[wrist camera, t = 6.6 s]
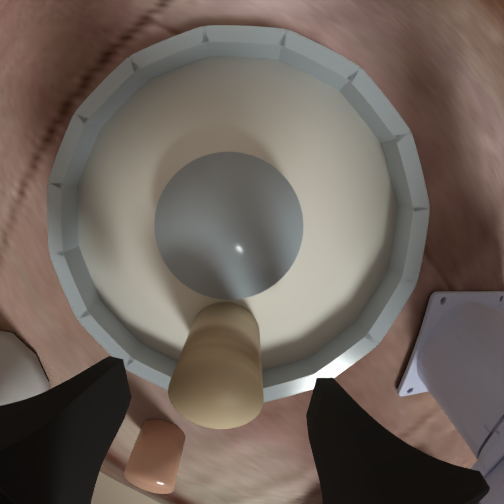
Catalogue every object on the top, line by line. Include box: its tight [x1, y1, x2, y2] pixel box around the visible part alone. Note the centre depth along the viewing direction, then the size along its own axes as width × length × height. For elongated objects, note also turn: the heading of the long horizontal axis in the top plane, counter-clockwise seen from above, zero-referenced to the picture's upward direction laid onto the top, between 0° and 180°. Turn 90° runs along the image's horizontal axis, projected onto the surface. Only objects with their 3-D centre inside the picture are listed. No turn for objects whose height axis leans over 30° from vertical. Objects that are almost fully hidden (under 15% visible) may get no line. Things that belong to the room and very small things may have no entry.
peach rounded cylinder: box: [124, 419, 185, 494], centre depth 14 cm, size 3×3×5 cm
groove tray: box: [47, 25, 430, 402], centre depth 12 cm, size 18×18×2 cm
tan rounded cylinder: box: [168, 302, 264, 429], centre depth 11 cm, size 3×3×5 cm
